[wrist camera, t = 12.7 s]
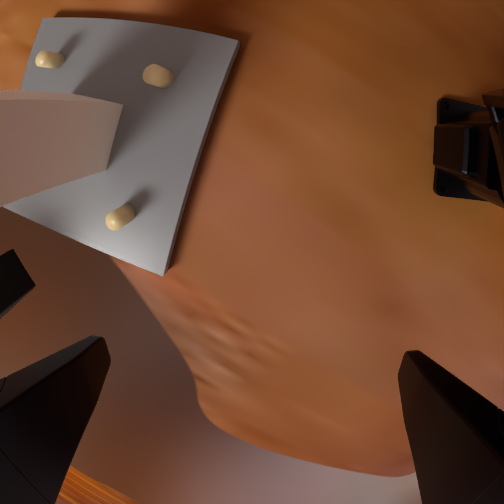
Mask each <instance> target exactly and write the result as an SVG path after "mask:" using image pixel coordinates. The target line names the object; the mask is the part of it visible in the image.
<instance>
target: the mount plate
mask: <svg viewBox="0 0 504 504" xmlns="http://www.w3.org/2000/svg"><path fill="white" fill-rule="evenodd" d="M240 45H241V44H240V42H239V40H235V39H231V38H227V37H223V36H219V35H214V34H210V33H205V32H201V31H196V30H190V29H185V28H180V27H174V26H167V25H161V24H154V23H146V22H138V21H128V20H117V19H103V18H75V17H59V18H43V20H42V22H41V25H40V28H39V30H38V33H37V36H36V39H35V42H34V45H33V48H32V51H31V54H30V57H29V60H28V64H27V67H26V70H25V74H24V78H23V81H22V85H21V89H20V91H42V92H59V93H72V94H77V95H82V96H87V97H92V98H96V99H101V100H105V101H110V102H114V103H118V104H123V108H122V111H121V115H120V118H119V122H118V125H117V129H116V132H115V136H114V140H113V144H112V148H111V152H110V156H109V160H108V165H107V169H106V171H103V172H100V173H96V174H93V175H90V176H86V177H83V178H80V179H77V180H74V181H71V182H67V183H64V184H61V185H58V186H55V187H53V188H50V189H47V190H44V191H41V192H38V193H36V194H33V195H30V196H27V197H25V198H22V199H19V200H17V201H14V202H12V203H9V204H7V205H4V206H3V207H4V208H6V209H8V210H11V211H13V212H15V213H17V214H19V215H21V216H23V217H25V218H28V219H30V220H32V221H34V222H36V223H38V224H41V225H43V226H45V227H47V228H49V229H52V230H54V231H56V232H58V233H61V234H63V235H65V236H67V237H70V238H72V239H74V240H76V241H79V242H81V243H83V244H86V245H88V246H90V247H93V248H95V249H97V250H100V251H102V252H104V253H107V254H109V255H111V256H114V257H116V258H119V259H121V260H123V261H126V262H128V263H131V264H133V265H136V266H138V267H141V268H143V269H146V270H148V271H151V272H153V273H156V274H158V275H161V276H164V275H165V273H166V272H167V271H168V267H169V263H170V260H171V256H172V252H173V248H174V244H175V241H176V237H177V233H178V230H179V226H180V223H181V219H182V215H183V212H184V208H185V205H186V202H187V198H188V195H189V192H190V188H191V185H192V182H193V178H194V175H195V172H196V169H197V166H198V162H199V159H200V156H201V153H202V150H203V147H204V144H205V141H206V138H207V135H208V132H209V129H210V126H211V123H212V120H213V117H214V114H215V112H216V109H217V106H218V103H219V100H220V98H221V95H222V92H223V89H224V87H225V84H226V81H227V79H228V76H229V73H230V71H231V68H232V65H233V63H234V60H235V58H236V55H237V53H238V50H239V48H240Z"/></svg>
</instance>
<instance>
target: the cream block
mask: <svg viewBox="0 0 504 504" xmlns="http://www.w3.org/2000/svg"><path fill="white" fill-rule="evenodd" d="M122 108H123V104H118V103H114V102H110V101H105V100H101V99H96V98H92V97H87V96H82V95H77V94H72V93H59V92H42V91H4V90H0V207H2V206H4V205H7V204H9V203H12V202H14V201H17V200H19V199H22V198H25V197H27V196H30V195H33V194H36V193H38V192H41V191H44V190H47V189H50V188H53V187H55V186H58V185H61V184H64V183H67V182H71V181H74V180H77V179H80V178H83V177H86V176H90V175H93V174H96V173H100V172H103V171H106V169H107V165H108V160H109V156H110V152H111V148H112V144H113V140H114V136H115V132H116V129H117V125H118V122H119V118H120V115H121V111H122Z"/></svg>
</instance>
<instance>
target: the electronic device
mask: <svg viewBox="0 0 504 504" xmlns="http://www.w3.org/2000/svg"><path fill="white" fill-rule="evenodd" d="M34 287H35V283H34V282H33V280H32V279H31V277H30V276H29V274H28V273H27V271H26V270H25V268H24V266H23V265H22V263H21V261H20V260H19V258H18V256H17V255H16V253H15V251H14V250H13V249H12V250H10V251H7V252H6V253H4V254H2V255H1V256H0V319H1V318H2V317H3V316H4V315H5V314H6V313H7V312H8V311H9V310H10V309H12V308H13V307H14V306H15V305H16V304H17V303H18V302H19V301H20V300H21V299H22V298H23V297H24V296H25V295H27V294H28V293H29V292H30V291H31V290H32V289H33V288H34Z"/></svg>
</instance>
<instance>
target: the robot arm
mask: <svg viewBox="0 0 504 504" xmlns="http://www.w3.org/2000/svg"><path fill="white" fill-rule="evenodd" d="M482 98H483V101H484V104H485V105H487V108H484V107H480V106H477V105H473V104H469V103H465V102H461V101H457V100H452V99H448V98H441V99H439V100H438V102H437V125H436V126H435V129H434V154H433V164H434V166H435V173H434V185H433V190H434V192H435V193H436V194H437V195H439V196H445V197H455V198H464V199H472V200H481V201H489V202H491V203H493V204H495V205H498V206H500V207H502V208H504V89H502V90H497V91H493V92H489V93H485V94H482ZM443 103H445V104H446V106H447V107H446V109H444V107H443ZM440 185H442V186H443V189H442V190H441V191H439V186H440ZM110 363H111V359H110V354H109V351H108V348H107V345H106V341H105V339H104V338H103V337H101V336H94V335H92V336H89V337H87V338H85V339H83V340H81V341H79V342H77V343H75V344H73V345H71V346H69V347H67V348H65V349H62V350H60V351H58V352H56V353H54V354H52V355H50V356H48V357H46V358H44V359H42V360H40V361H38V362H35V363H33V364H31V365H29V366H27V367H25V368H23V369H21V370H19V371H17V372H15V373H13V374H11V375H9V376H7V377H4V378H2V379H0V504H55V502H56V500H57V497H58V494H59V492H60V489H61V487H62V484H63V481H64V479H65V476H66V474H67V471H68V469H69V466H70V464H71V461H72V459H73V457H74V454H75V452H76V449H77V447H78V445H79V442H80V440H81V438H82V436H83V433H84V431H85V428H86V426H87V424H88V422H89V420H90V417H91V415H92V413H93V411H94V409H95V406H96V404H97V401H98V399H99V396H100V393H101V390H102V387H103V384H104V381H105V378H106V375H107V372H108V370H109V367H110ZM398 383H399V389H400V396H401V403H402V410H403V417H404V423H405V427H406V431H407V435H408V440H409V444H410V448H411V452H412V457H413V461H414V466H415V470H416V475H417V480H418V485H419V490H420V495H421V500H422V504H504V411H502V410H501V409H498V407H497V406H495V405H494V404H493V403H491V402H490V401H489V400H487V399H486V398H484V397H483V396H482V395H480V394H479V393H478V392H476V391H475V390H473V389H472V388H471V387H469V386H468V385H467V384H465V383H464V382H462V381H461V380H460V379H458V378H457V377H455V376H454V375H453V374H451V373H450V372H449V371H447V370H446V369H444V368H443V367H442V366H440V365H439V364H437V363H436V362H435V361H433V360H432V359H430V358H429V357H428V356H426V355H425V354H423V353H422V352H421V351H419V350H412V351H407V352H405V354H404V356H403V359H402V363H401V366H400V369H399V372H398Z"/></svg>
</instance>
